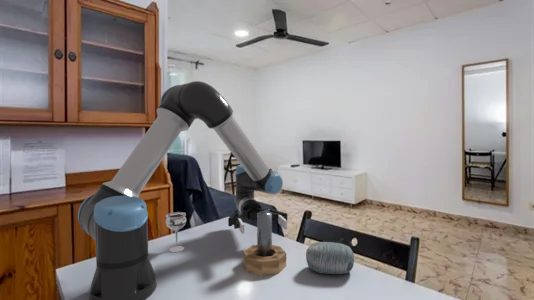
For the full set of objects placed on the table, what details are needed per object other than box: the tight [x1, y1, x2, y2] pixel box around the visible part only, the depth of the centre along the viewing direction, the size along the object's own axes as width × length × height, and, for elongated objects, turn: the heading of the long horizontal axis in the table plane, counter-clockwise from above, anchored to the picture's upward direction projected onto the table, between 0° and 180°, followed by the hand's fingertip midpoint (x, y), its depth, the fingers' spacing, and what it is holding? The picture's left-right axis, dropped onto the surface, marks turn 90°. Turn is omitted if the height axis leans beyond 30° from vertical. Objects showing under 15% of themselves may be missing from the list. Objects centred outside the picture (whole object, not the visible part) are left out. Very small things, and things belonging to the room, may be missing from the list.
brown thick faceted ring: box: [243, 244, 287, 277], centre depth 86 cm, size 12×12×4 cm
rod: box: [256, 211, 273, 257], centre depth 86 cm, size 4×4×16 cm
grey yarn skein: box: [305, 241, 355, 275], centre depth 82 cm, size 14×10×10 cm
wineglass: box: [165, 211, 187, 253], centre depth 98 cm, size 7×7×12 cm
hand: (264, 227), depth 87 cm, fingers open, 13 cm apart
